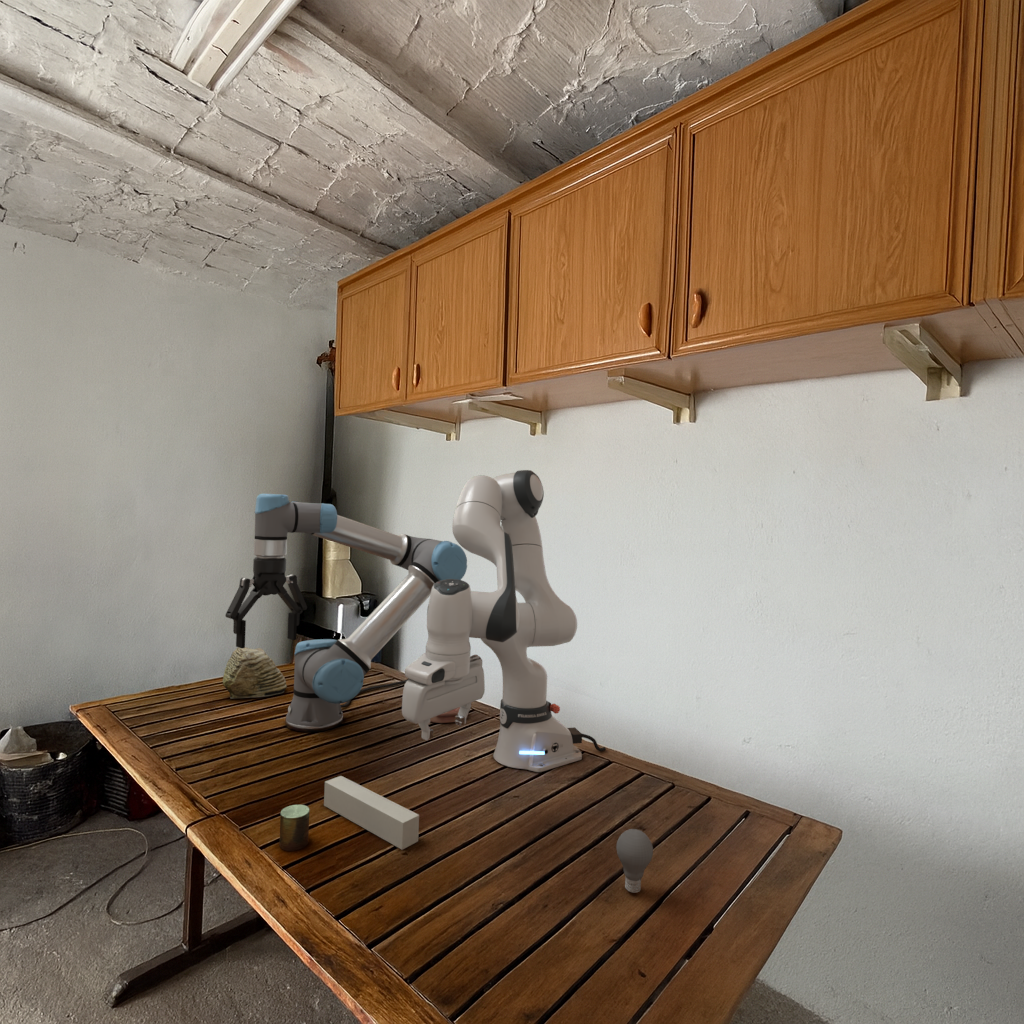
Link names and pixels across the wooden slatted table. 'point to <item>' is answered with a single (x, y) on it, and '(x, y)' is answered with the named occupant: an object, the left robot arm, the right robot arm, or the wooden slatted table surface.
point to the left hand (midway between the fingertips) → (266, 643)
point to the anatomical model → (446, 716)
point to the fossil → (252, 674)
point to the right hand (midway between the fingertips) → (444, 731)
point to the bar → (372, 812)
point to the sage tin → (294, 827)
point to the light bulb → (634, 857)
